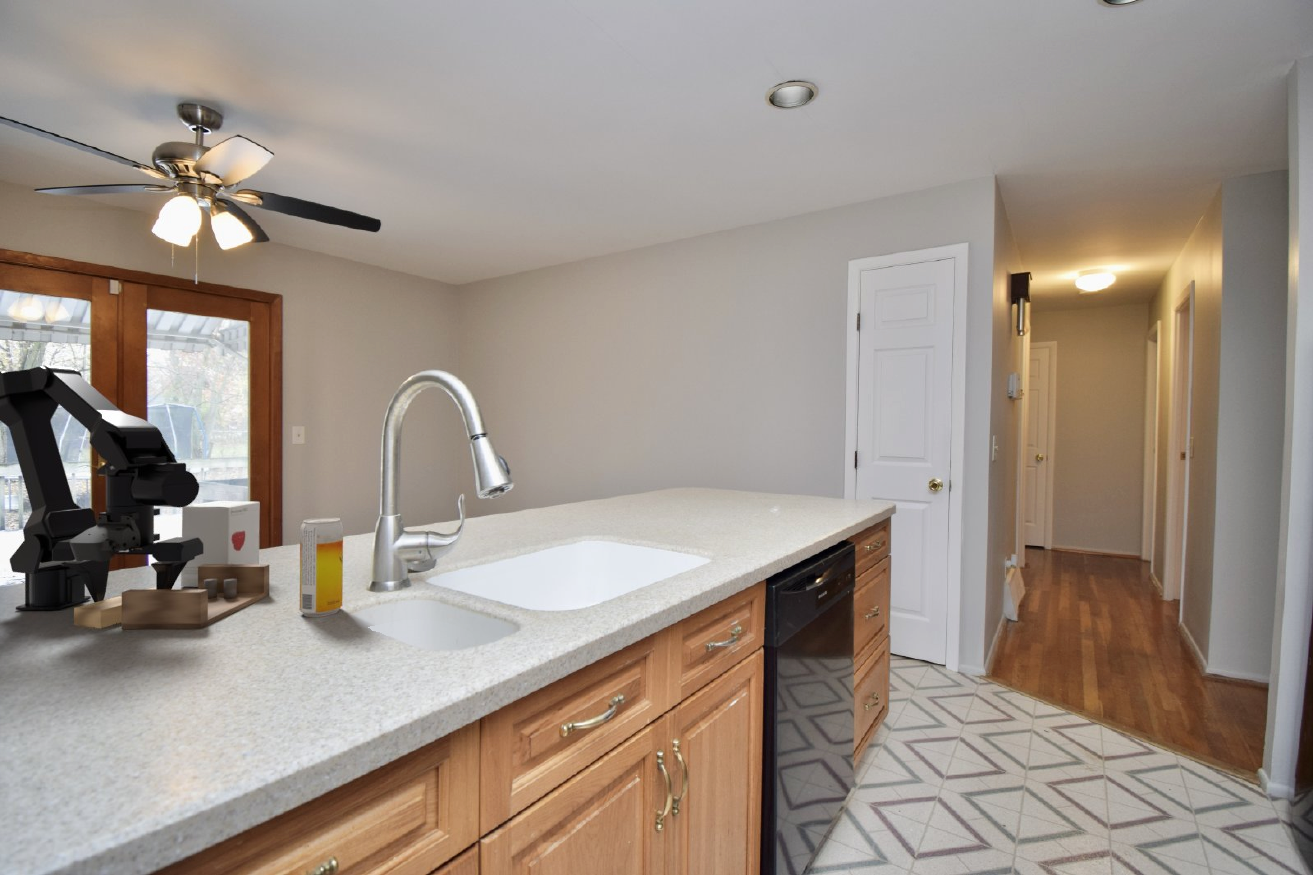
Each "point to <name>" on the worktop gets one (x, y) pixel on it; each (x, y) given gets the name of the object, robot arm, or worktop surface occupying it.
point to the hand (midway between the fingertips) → (130, 603)
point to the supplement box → (221, 534)
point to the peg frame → (196, 598)
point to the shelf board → (100, 613)
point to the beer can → (321, 566)
